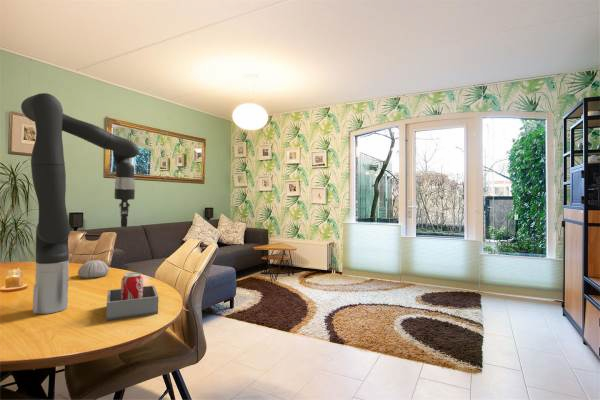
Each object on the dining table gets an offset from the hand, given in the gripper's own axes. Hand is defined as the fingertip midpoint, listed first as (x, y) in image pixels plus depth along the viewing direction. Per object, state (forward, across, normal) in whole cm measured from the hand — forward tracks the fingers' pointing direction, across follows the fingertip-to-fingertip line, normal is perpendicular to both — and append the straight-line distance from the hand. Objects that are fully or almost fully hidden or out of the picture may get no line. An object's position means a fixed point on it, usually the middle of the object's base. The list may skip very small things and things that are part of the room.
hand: (123, 226), depth 135 cm
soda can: (+28, +26, +3) cm, 38 cm away
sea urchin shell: (+28, -34, -12) cm, 46 cm away
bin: (+28, +26, +3) cm, 38 cm away
